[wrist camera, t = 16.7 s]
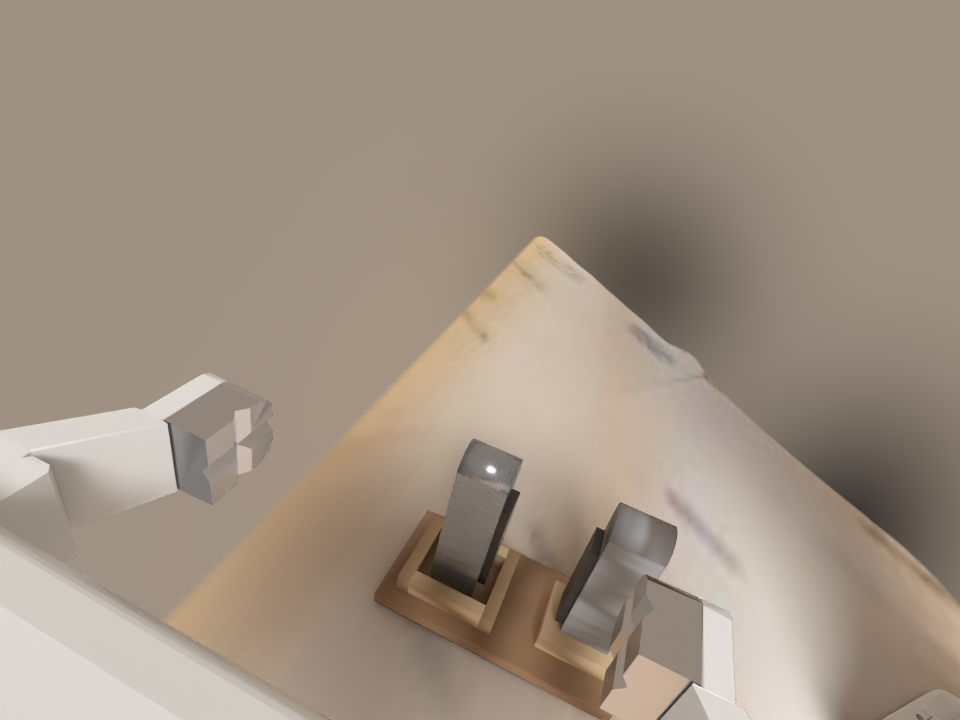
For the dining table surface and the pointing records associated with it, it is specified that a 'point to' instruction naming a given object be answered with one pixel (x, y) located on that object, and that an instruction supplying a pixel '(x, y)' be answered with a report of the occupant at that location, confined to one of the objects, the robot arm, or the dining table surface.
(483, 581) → the grey tall block
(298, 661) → the dining table surface
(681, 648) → the robot arm
